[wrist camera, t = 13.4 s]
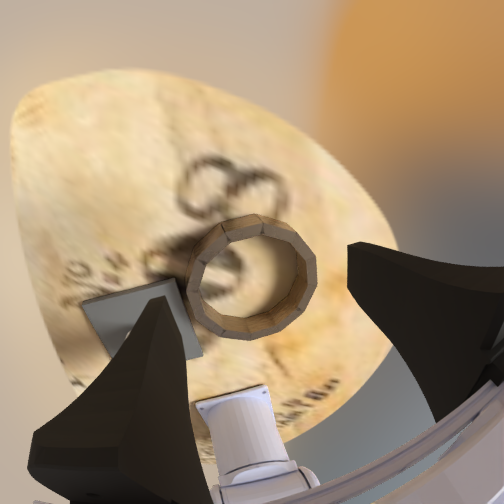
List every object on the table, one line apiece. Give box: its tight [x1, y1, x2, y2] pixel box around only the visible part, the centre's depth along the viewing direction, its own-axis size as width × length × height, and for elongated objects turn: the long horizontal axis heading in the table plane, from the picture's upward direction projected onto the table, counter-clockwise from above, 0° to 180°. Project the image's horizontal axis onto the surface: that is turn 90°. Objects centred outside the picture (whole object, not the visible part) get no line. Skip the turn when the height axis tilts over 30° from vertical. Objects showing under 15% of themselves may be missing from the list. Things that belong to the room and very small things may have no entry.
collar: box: [185, 214, 317, 341], centre depth 22 cm, size 10×10×2 cm
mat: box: [82, 278, 203, 360], centre depth 22 cm, size 8×8×1 cm
